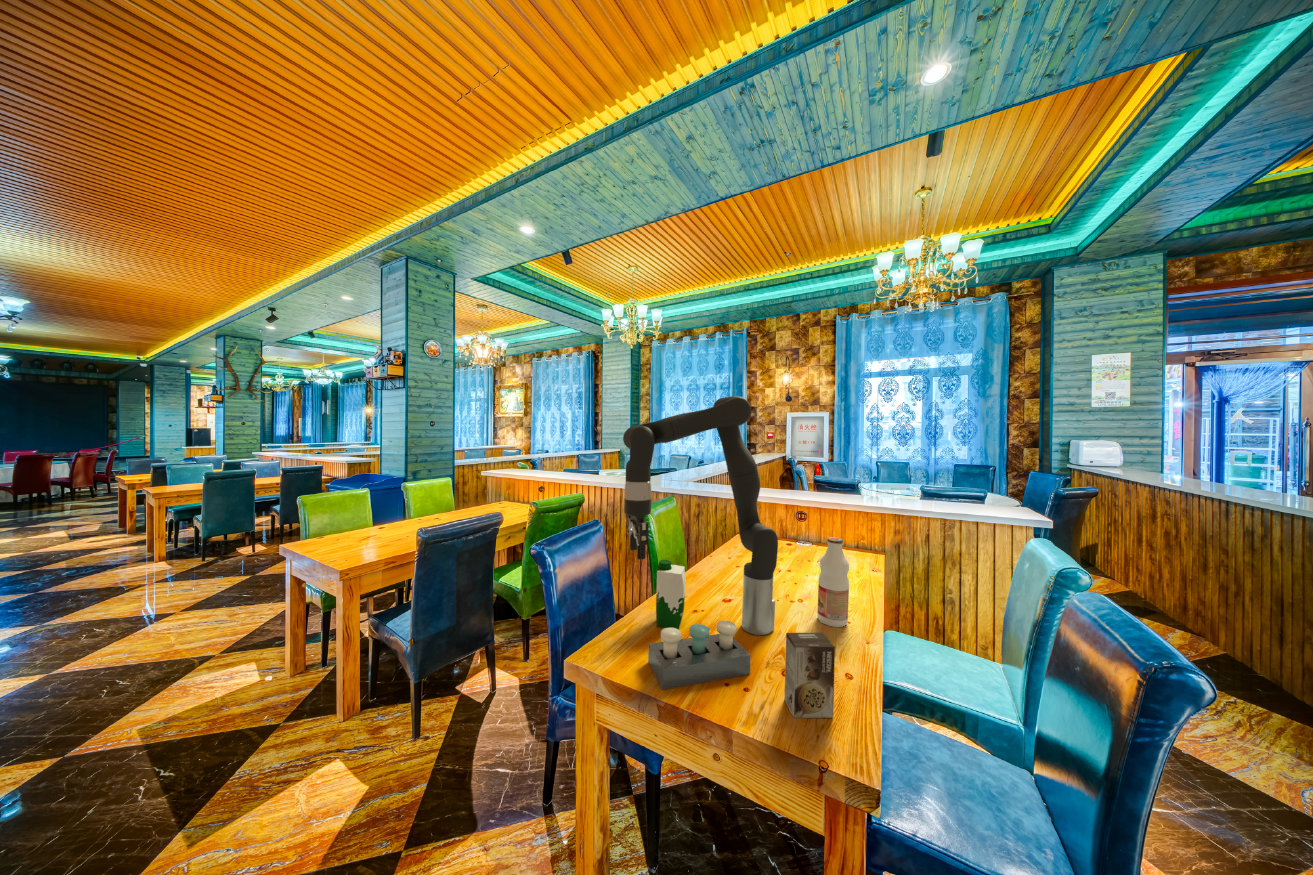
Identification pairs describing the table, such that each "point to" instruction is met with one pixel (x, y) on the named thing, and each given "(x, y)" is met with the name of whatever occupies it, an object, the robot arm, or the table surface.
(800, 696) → the coffee box
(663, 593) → the milk carton
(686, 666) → the socket strip
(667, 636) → the ivory plug
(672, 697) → the table surface
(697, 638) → the plug teal
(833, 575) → the fruit juice
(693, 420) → the robot arm
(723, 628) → the ivory plug
